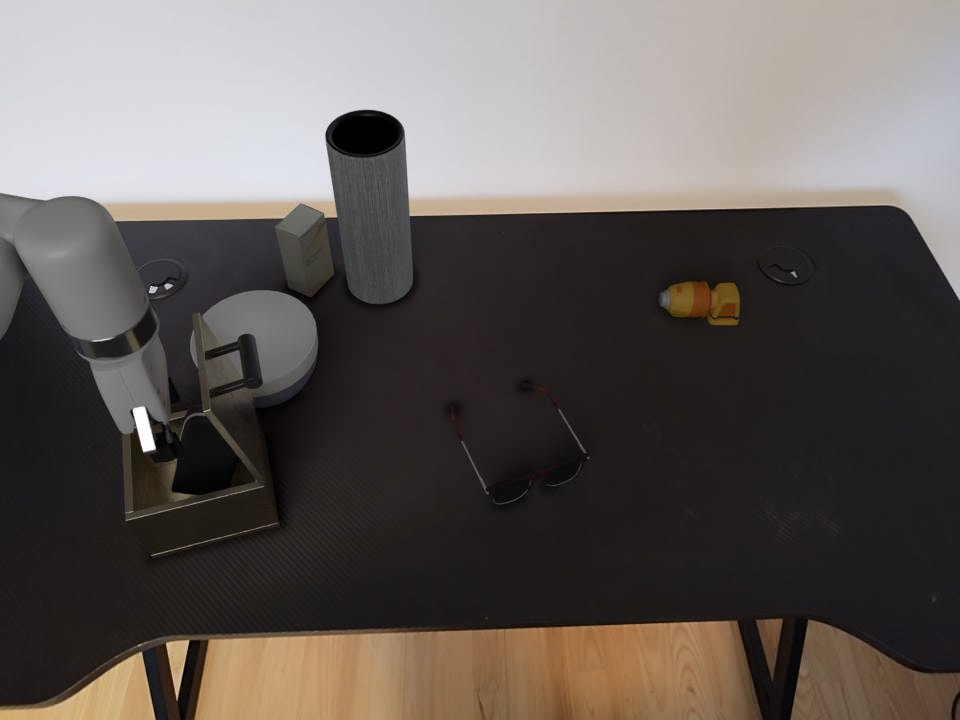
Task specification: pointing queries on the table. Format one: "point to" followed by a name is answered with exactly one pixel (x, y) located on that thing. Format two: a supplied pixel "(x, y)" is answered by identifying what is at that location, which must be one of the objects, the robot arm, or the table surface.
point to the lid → (231, 393)
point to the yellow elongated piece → (702, 301)
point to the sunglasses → (520, 484)
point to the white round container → (268, 340)
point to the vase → (372, 203)
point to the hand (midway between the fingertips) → (167, 429)
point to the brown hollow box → (191, 501)
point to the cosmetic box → (305, 249)
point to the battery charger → (203, 457)
